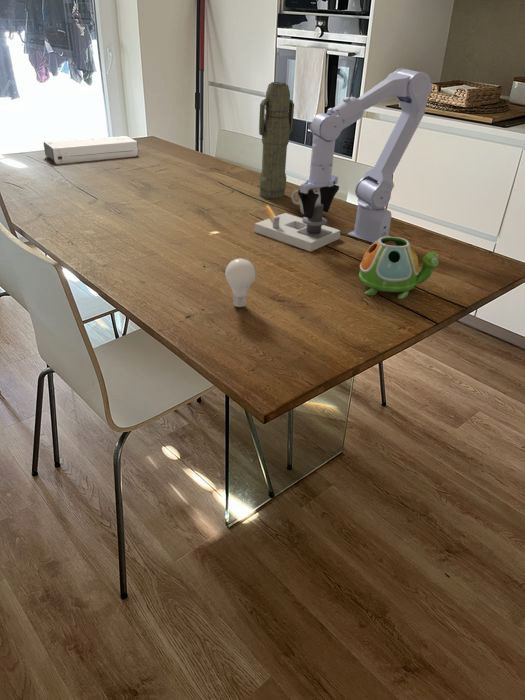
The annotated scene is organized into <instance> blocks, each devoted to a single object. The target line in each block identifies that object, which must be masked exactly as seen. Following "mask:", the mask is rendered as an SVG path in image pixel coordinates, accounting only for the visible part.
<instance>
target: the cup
mask: <svg viewBox="0 0 525 700" xmlns="http://www.w3.org/2000/svg"><path fill="white" fill-rule="evenodd" d="M298 190H300V188H299V189H294V190H293V191H292V192H291V201H292V203H293V204H294V205H297V206H299V210H300V213H301V214H302V215H303V216H304V210H303V205H302V201H301V199H300V197H299V196H298V197H299V200H296V198H295V196H296V194H298ZM313 192H314V193H315V194H319V196H318V198H317V200H316V203H319V204H320V203H321V196H320V189H319V188H318V189H315V190H313Z"/></svg>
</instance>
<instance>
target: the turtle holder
mask: <svg viewBox="0 0 525 700" xmlns="http://www.w3.org/2000/svg"><path fill="white" fill-rule="evenodd" d="M388 242H393V244H386V243H388ZM410 244H411V243H410V242H409V240H408V239H406V238H403V237H398V236H389V237H381V238H379V239H378V240H377V241H376V242H374V243H372V244H371V245H370V246H369V247H368V249H367V250H366V251H365V253H364V255H363V256H362V257H363V258H362V260H361V262H360V263H359V273H358V277H359V280H360V282H361V283H362V284H363V285H365V286H366V287H368V288H369V289H367V290H365V292H364V294H365V295H367V296H376V295H377V293H378V292H379V291H381V292H388V293H399V294H397V296H396V297H397V299H398V300H405V299H407V297H408V295H409V293H410V291H411V290H413V289H414V288H415V287H416V285H420V284H421V285H422V284H423V283H425V282H426V281H427V280H428V279H430V277H431V275H432V274H433V272H434V269H436V268H437V267H438V266H439V265H440V261H439V260H440V259H439V254H438V252H432V251H429V252H428V253H426V254H425V255H424V256H423V257H422V260H421V261H422V266H421V269H420V271H419V267H420V266H419V258H418V256H417V253H416V250H414V248H413V247H412V245H410Z"/></svg>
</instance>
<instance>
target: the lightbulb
mask: <svg viewBox="0 0 525 700" xmlns="http://www.w3.org/2000/svg"><path fill="white" fill-rule="evenodd" d="M224 275H225V276H224V277H225V280H226V282H227V283H228V285H229V286H230V288H231V293H232V295H233V301H232V302H233V306H235V307H237V308H240V309H241V308H244V307H245V306H246V304H247V303H246V300H247V294H248V290H249V289H250V287H251V285H252V284H253V283H254V281H255V279H256V269H255V266H254V265H253V263H252V262H251V261H250V260H248V259H246V258H242V257H241V258H235V259H233V260H231V261H230V262H229V263H228V264H227V266H226V268H225V272H224Z"/></svg>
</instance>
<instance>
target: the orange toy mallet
mask: <svg viewBox="0 0 525 700" xmlns="http://www.w3.org/2000/svg"><path fill="white" fill-rule="evenodd" d="M265 212H266V213H267V214H268V217H269V218H271V219H272V221H273V228H279V219H280V217H278V215H276V214H275V213H274V211H273V209H272V208H271V207H270V205H268V204H266V205H265Z"/></svg>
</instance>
